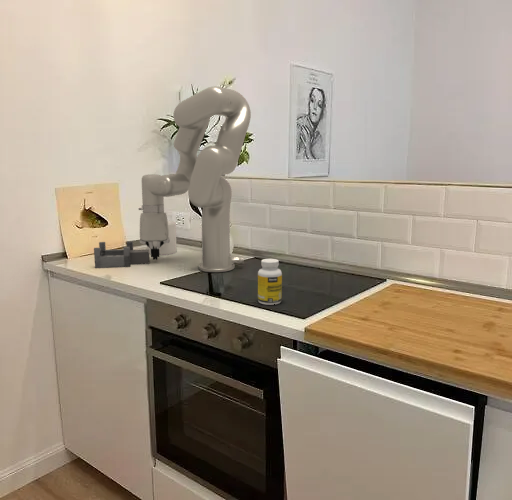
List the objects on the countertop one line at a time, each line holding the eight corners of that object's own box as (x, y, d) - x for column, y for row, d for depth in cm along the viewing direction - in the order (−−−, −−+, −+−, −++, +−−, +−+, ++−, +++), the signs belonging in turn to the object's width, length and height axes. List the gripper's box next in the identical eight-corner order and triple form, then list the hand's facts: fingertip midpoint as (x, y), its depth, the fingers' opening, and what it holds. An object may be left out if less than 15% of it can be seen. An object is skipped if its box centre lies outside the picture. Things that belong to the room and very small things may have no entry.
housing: (133, 259, 191) (132, 241, 189) (130, 266, 179) (129, 247, 177) (100, 260, 189) (99, 241, 188) (95, 268, 177) (93, 248, 176)
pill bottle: (261, 306, 134) (261, 263, 132) (255, 299, 140) (255, 258, 138) (284, 304, 136) (285, 262, 133) (277, 297, 142) (277, 257, 139)
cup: (152, 256, 196) (150, 225, 193) (143, 251, 206) (142, 222, 203) (180, 253, 201) (179, 223, 199) (171, 248, 211) (169, 219, 209)
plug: (149, 261, 188) (149, 249, 187) (148, 264, 183) (148, 252, 182) (124, 261, 187) (124, 250, 186) (123, 265, 182) (122, 252, 181)
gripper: (131, 210, 177) (133, 261, 181) (174, 210, 179) (175, 260, 183) (133, 208, 185) (135, 257, 188) (174, 207, 187) (176, 256, 190)
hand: (155, 258), depth 186 cm, fingers closed
